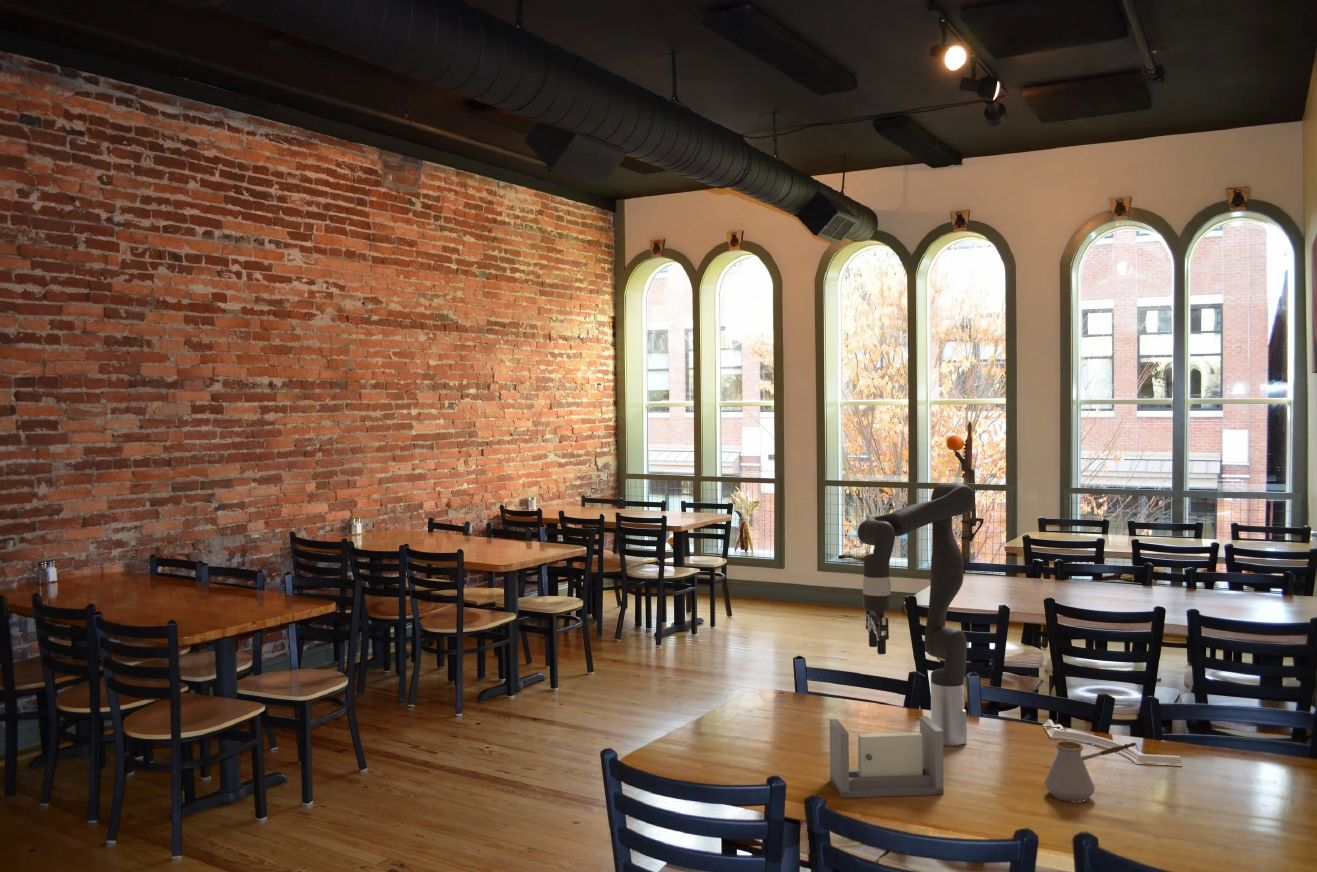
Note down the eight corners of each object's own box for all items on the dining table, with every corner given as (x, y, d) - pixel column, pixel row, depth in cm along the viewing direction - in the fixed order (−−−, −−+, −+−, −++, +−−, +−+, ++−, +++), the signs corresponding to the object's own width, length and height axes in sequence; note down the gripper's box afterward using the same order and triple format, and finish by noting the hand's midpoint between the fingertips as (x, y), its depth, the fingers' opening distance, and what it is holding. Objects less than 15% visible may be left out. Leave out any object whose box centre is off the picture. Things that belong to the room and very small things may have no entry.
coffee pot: (1045, 802, 239) (1045, 741, 238) (1043, 785, 249) (1043, 727, 249) (1142, 813, 231) (1141, 750, 231) (1136, 795, 242) (1135, 735, 242)
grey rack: (927, 776, 256) (927, 716, 256) (943, 794, 244) (943, 730, 244) (830, 779, 255) (829, 719, 255) (841, 797, 243) (840, 733, 243)
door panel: (919, 778, 251) (919, 731, 251) (923, 782, 248) (923, 736, 248) (858, 780, 250) (858, 733, 250) (862, 785, 247) (861, 738, 247)
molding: (1189, 766, 263) (1189, 755, 263) (1165, 775, 257) (1165, 764, 257) (1050, 726, 299) (1050, 716, 299) (1025, 732, 292) (1025, 723, 292)
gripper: (897, 596, 263) (898, 656, 263) (882, 587, 277) (883, 644, 278) (870, 597, 263) (870, 656, 263) (856, 588, 277) (857, 644, 277)
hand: (877, 650), depth 270 cm, fingers open, 8 cm apart
